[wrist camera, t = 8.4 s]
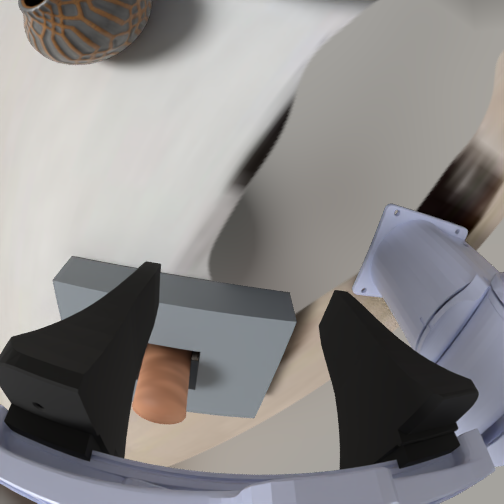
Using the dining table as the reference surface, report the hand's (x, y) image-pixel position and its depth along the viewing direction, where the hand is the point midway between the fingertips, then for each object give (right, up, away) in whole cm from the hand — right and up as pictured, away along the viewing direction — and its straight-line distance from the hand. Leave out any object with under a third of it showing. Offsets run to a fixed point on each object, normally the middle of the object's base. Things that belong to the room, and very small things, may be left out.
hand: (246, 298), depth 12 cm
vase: (-9, +17, +1) cm, 19 cm away
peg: (-7, -6, +14) cm, 16 cm away
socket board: (-7, -6, +14) cm, 17 cm away
